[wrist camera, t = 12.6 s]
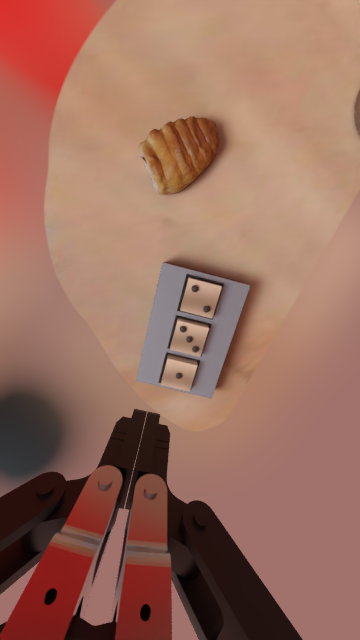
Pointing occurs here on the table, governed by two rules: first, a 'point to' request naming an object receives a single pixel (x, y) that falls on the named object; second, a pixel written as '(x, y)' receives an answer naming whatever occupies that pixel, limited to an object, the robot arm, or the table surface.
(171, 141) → the pastry
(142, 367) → the panel
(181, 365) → the button
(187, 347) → the button
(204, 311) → the button
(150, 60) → the table surface
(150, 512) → the robot arm
